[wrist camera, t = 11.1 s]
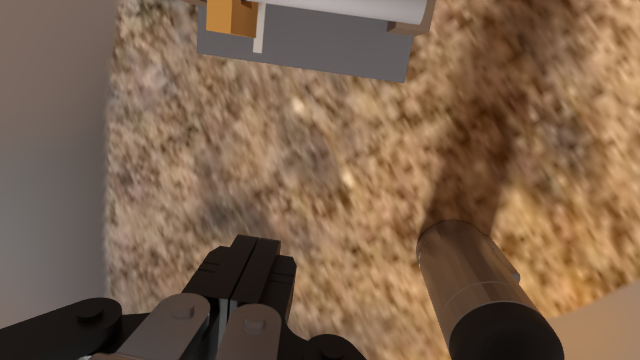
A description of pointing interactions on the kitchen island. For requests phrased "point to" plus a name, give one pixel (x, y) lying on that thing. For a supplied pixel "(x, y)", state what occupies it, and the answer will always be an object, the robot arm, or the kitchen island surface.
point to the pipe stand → (327, 35)
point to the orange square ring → (232, 17)
